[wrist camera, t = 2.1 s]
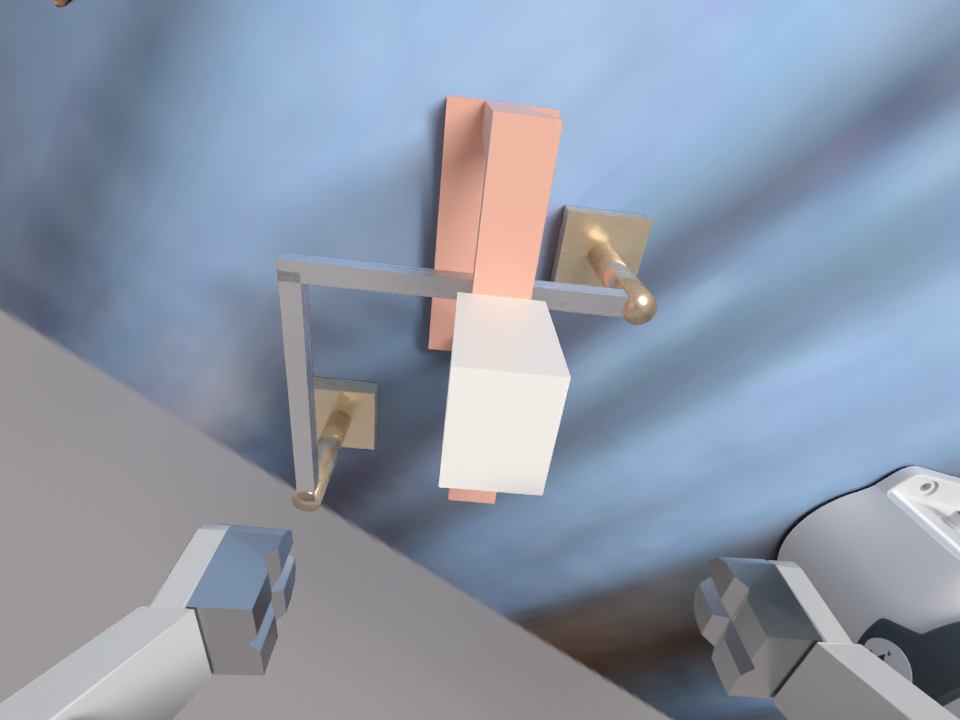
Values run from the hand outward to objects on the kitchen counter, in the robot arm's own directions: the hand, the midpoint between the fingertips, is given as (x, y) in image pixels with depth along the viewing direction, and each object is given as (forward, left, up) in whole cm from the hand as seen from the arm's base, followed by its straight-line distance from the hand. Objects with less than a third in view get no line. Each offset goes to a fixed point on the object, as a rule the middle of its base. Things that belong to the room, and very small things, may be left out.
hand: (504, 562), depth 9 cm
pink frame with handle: (0, 0, -24) cm, 24 cm away
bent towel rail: (+1, +7, -24) cm, 25 cm away
